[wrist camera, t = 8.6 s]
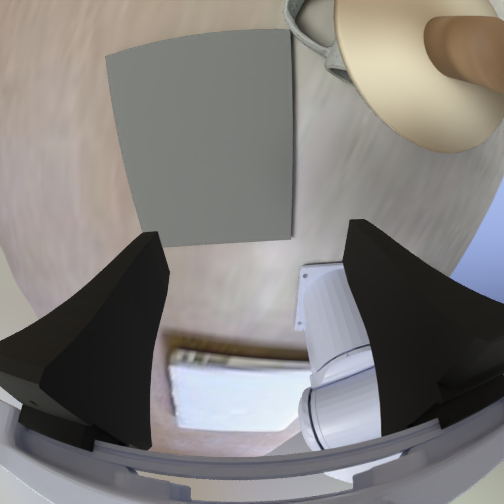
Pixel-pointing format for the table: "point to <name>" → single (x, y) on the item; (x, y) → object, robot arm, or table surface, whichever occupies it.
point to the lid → (426, 67)
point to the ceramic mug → (331, 53)
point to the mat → (208, 135)
